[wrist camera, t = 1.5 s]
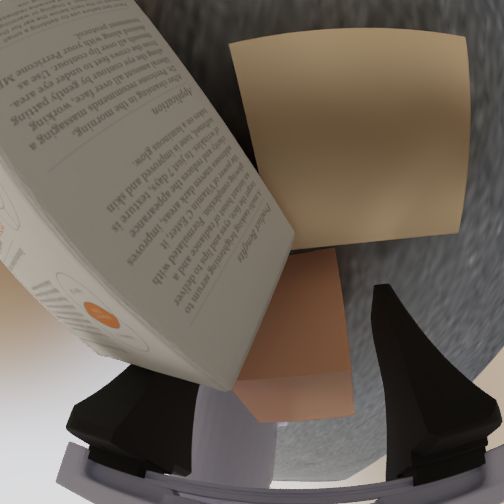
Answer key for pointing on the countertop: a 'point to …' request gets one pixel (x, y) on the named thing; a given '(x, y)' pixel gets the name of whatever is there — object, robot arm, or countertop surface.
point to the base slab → (359, 130)
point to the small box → (130, 193)
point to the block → (301, 347)
